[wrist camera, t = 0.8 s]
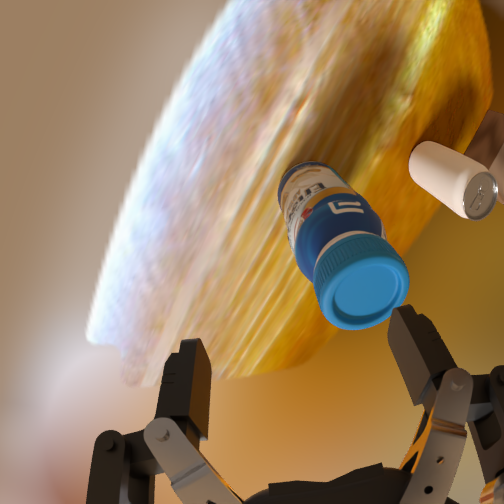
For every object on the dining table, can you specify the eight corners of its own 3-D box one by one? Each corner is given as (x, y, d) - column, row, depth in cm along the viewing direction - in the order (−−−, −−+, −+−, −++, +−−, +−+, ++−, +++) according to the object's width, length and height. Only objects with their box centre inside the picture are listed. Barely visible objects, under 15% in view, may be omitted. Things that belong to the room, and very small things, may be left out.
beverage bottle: (324, 231, 39) (378, 347, 22) (265, 209, 37) (286, 328, 20) (353, 175, 35) (442, 265, 18) (292, 147, 33) (350, 223, 16)
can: (450, 150, 33) (507, 181, 23) (433, 191, 36) (485, 231, 26) (417, 132, 32) (475, 158, 22) (400, 176, 35) (451, 215, 25)
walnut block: (488, 109, 29) (515, 117, 24) (516, 149, 32) (540, 161, 27) (460, 160, 34) (486, 174, 29) (490, 195, 36) (513, 211, 31)
